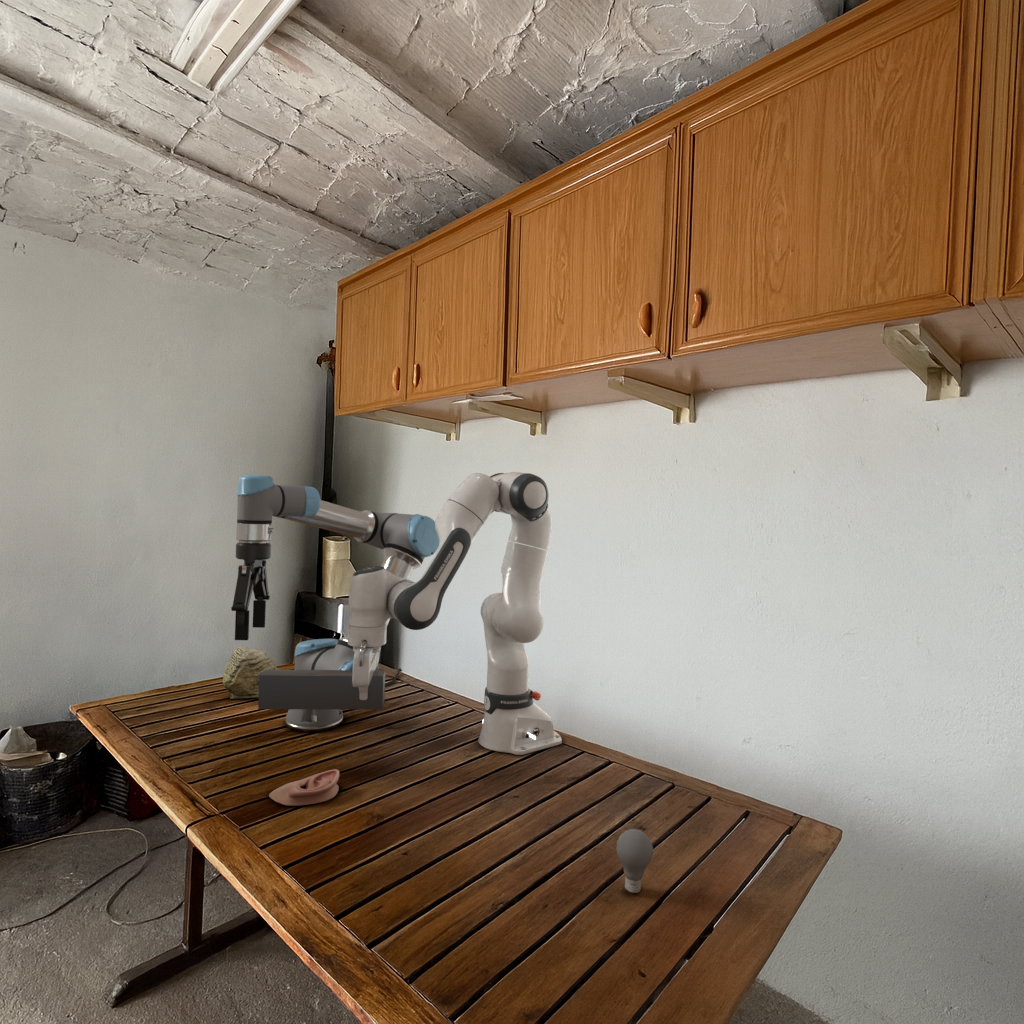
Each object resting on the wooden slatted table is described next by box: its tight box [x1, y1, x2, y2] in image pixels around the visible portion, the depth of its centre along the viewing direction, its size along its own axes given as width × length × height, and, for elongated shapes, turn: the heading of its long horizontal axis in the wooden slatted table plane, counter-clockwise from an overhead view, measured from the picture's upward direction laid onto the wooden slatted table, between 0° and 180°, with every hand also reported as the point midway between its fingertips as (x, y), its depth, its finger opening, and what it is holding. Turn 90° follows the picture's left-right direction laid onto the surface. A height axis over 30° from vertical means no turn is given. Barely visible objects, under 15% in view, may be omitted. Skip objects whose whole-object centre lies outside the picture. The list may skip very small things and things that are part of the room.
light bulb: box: [615, 828, 654, 894], centre depth 106 cm, size 6×6×10 cm
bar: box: [257, 669, 386, 711], centre depth 147 cm, size 28×5×8 cm, turn 96°
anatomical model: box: [268, 768, 340, 807], centre depth 134 cm, size 13×4×12 cm
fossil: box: [222, 646, 280, 699], centre depth 198 cm, size 9×18×15 cm, turn 132°
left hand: (250, 633), depth 147 cm, fingers open, 13 cm apart
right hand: (365, 694), depth 148 cm, fingers closed on bar, 4 cm apart
